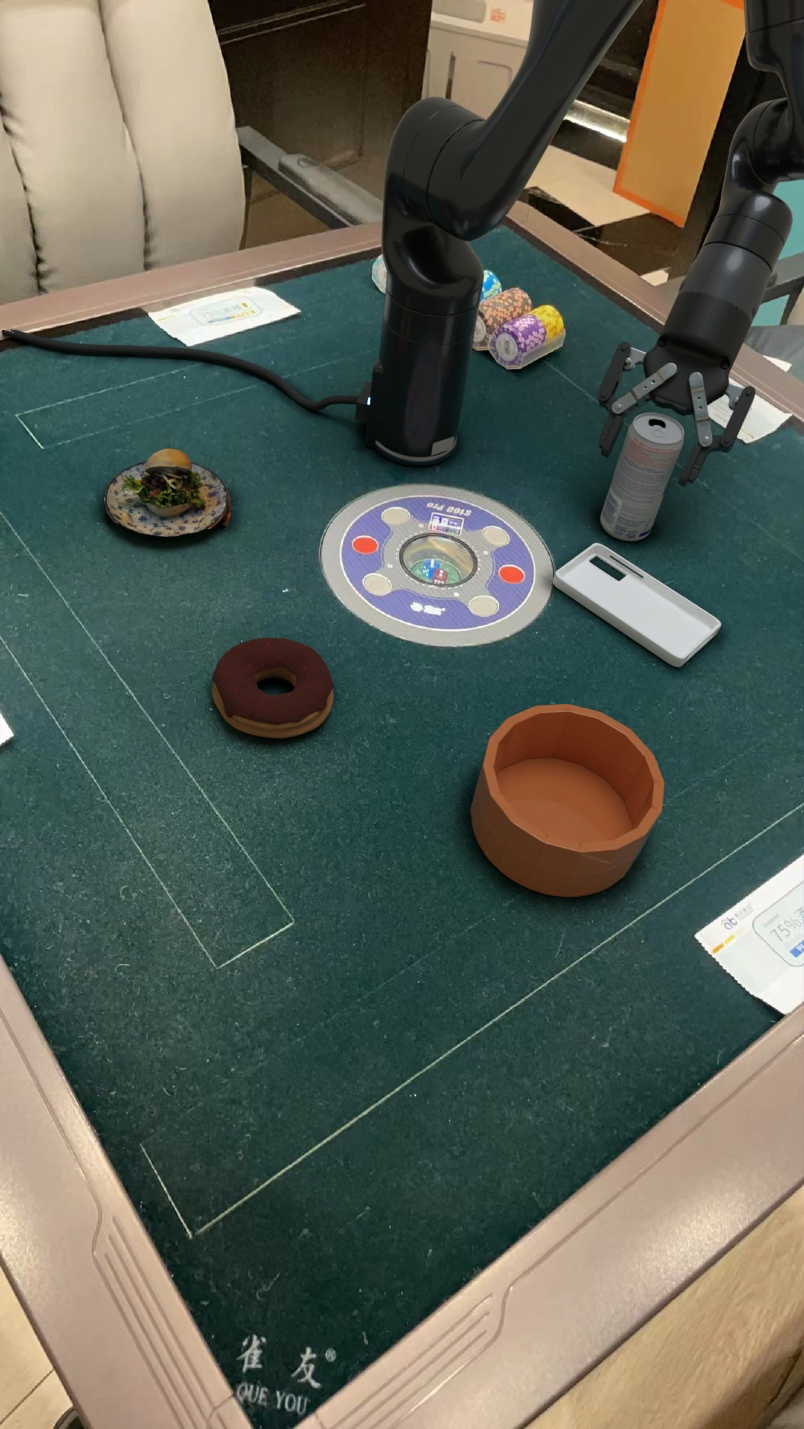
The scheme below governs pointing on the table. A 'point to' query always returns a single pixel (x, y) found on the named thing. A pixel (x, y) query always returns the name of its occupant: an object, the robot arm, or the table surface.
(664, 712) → the table surface
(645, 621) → the phone case
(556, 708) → the bowl
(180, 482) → the burger
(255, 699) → the donut
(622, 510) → the energy drink
